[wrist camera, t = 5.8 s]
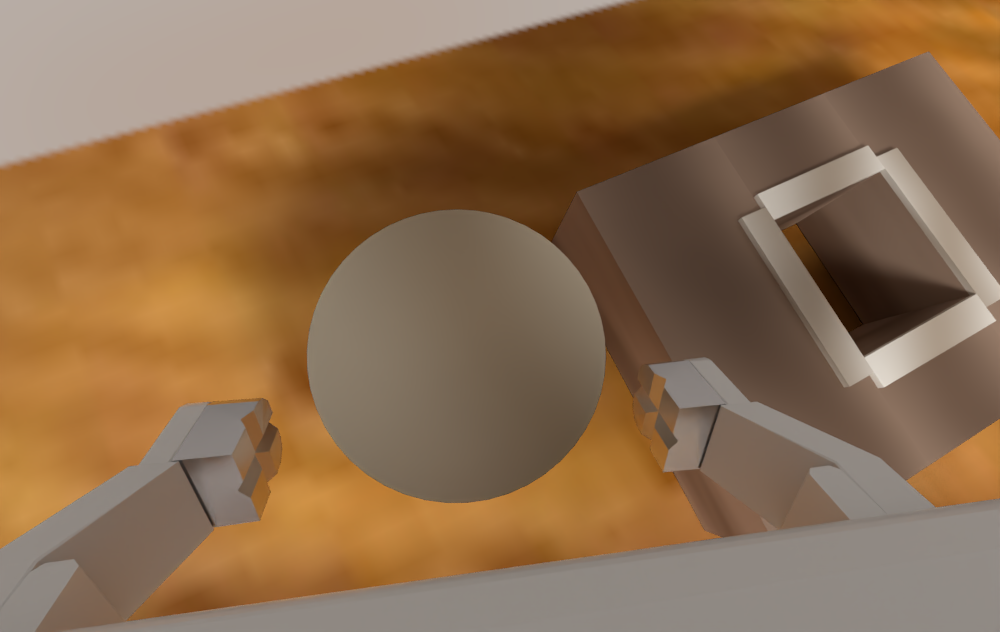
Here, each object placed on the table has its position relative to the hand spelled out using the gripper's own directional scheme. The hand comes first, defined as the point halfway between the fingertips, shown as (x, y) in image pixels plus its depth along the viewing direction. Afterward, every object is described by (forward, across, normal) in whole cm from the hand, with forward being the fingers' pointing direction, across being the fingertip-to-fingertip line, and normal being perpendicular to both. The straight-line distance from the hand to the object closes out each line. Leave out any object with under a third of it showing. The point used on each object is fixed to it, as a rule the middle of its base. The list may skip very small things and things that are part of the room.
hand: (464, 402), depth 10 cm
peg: (+5, 0, +4) cm, 6 cm away
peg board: (+7, -14, +2) cm, 16 cm away
